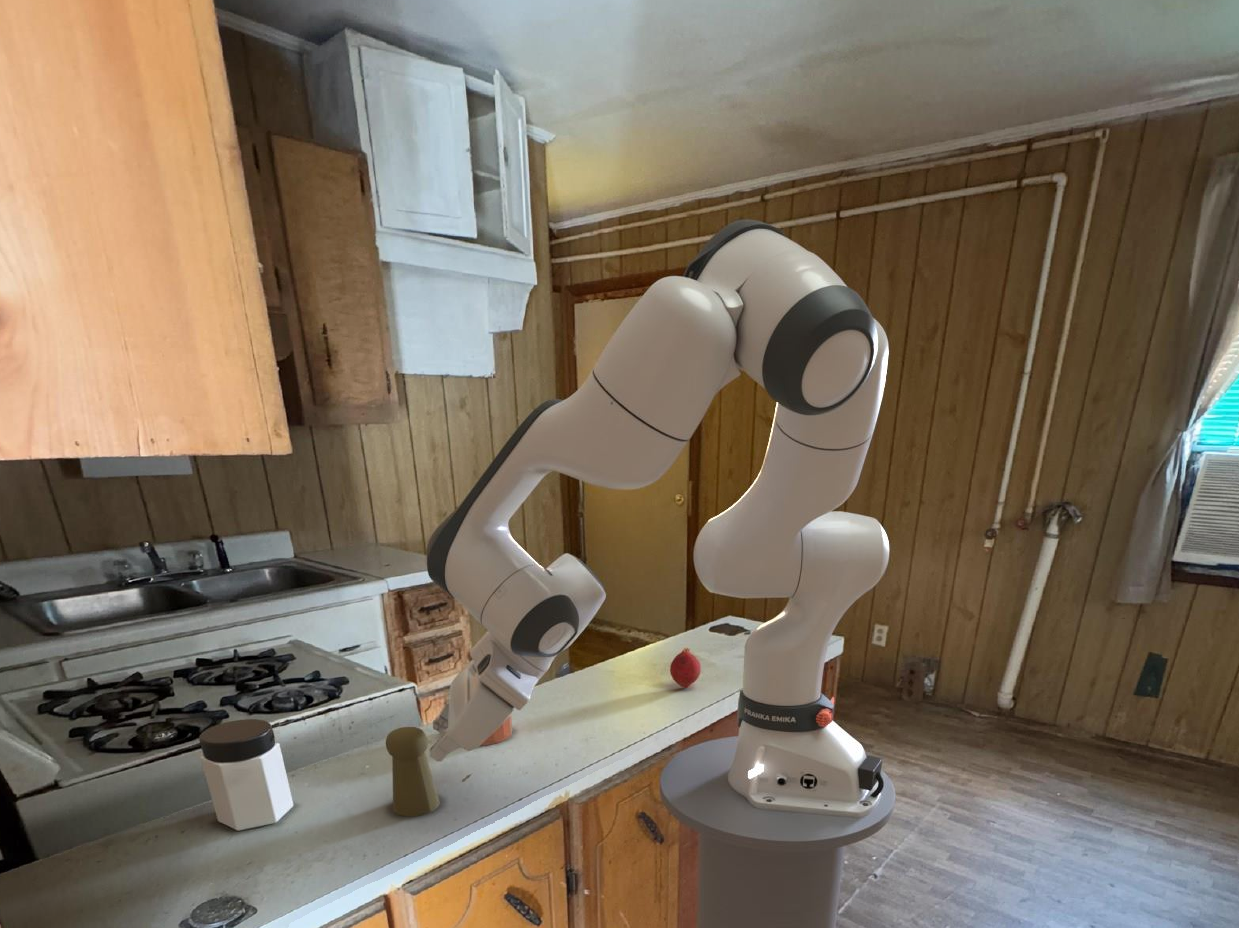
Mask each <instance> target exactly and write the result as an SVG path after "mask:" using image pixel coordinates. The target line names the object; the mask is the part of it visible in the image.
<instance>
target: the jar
mask: <svg viewBox="0 0 1239 928" xmlns="http://www.w3.org/2000/svg"><path fill="white" fill-rule="evenodd" d="M275 736H276V735H275V731H274V730H273V726H272V724H271V723H270V722H268V721H266V720H262V719H258V718H257V719H256V718H249V719H248V718H247V719H237V720H231V721H226V722H222V723H220V724H216V725H213V726H211V727H209V728H207V729H205V730H204V731H203V732H201V733H200V735H199V737H198V740H199V743H200V748H201V751H202V755H201V756H200V757H199V759H200V761H201V765H202V769H203V772H204V776H205V780H206V783H207V787H208V791H209V794H210V797H211V801H212V804H213V805H212V806H213V808H214V811H215V814H216V819H217V822H219V823H221V824H223V825H225V826H227V827H228V828H231V829H233V830H235V831H238V832H240V831H244V830H249V829H254V828H258V827H263V826H267V825H272V824H276V823H278V822H279V821H280V820H281V819H282V818H283V817H284V816H285V815H286V814H288V812H289V811H290V810H291V809H292V808H293V807H294V802H293V797H292V792H291V789H290V784H289V783H290V782H289V779H288V776H287V775H288V774H287V770H286V766H285V762H284V757H283V753H282V749H281V744H280V743H279V742H276V739H275Z"/></svg>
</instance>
